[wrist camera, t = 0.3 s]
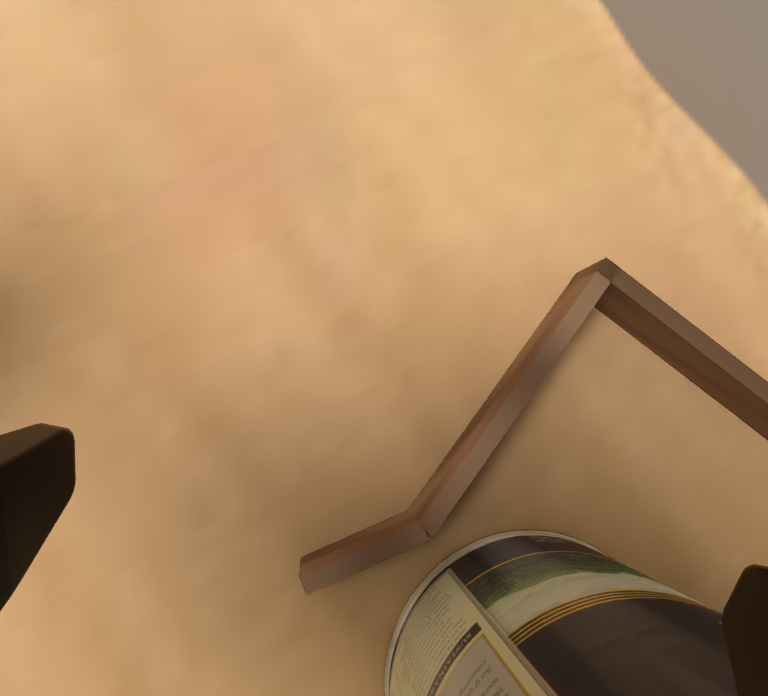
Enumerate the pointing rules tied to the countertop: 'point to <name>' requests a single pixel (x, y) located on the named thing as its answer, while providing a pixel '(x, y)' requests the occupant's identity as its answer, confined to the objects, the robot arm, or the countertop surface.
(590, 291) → the walnut keeper
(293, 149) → the countertop surface
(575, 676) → the coffee can
